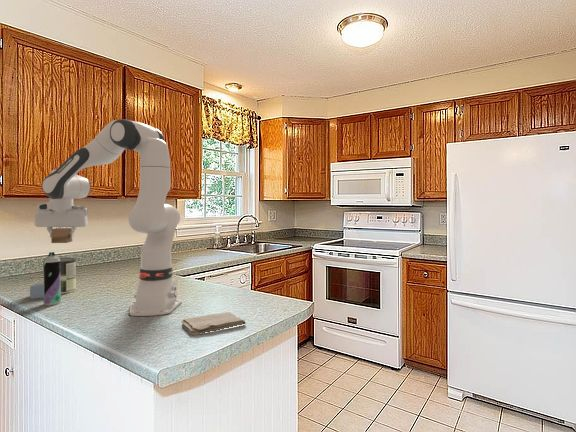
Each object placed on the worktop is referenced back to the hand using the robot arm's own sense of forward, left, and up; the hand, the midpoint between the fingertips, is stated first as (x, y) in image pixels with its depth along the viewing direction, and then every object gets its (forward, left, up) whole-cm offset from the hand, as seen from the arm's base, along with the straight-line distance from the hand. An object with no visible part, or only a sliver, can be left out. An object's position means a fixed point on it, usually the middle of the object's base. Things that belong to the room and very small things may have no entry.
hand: (62, 237), depth 160 cm
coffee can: (0, 0, -24) cm, 24 cm away
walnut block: (0, 0, -2) cm, 2 cm away
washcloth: (-55, -66, -24) cm, 90 cm away
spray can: (-20, -4, -24) cm, 32 cm away
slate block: (-8, +6, -24) cm, 26 cm away
